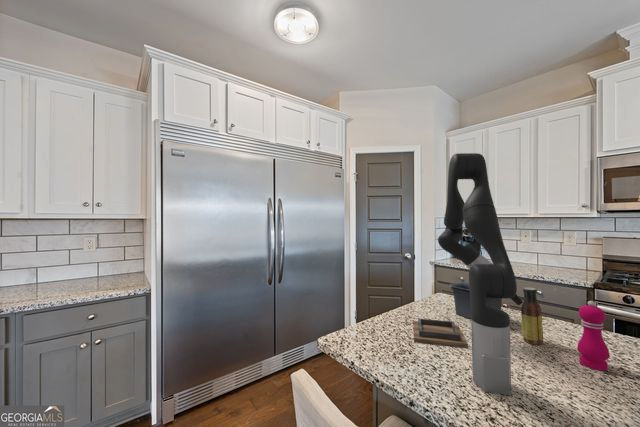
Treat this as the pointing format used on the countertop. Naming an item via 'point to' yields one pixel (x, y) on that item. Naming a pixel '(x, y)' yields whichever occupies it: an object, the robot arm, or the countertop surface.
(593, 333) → the pepper mill
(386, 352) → the countertop surface
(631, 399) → the countertop surface
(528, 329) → the sauce bottle
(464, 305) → the storage bin
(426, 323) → the socket board
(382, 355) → the countertop surface
